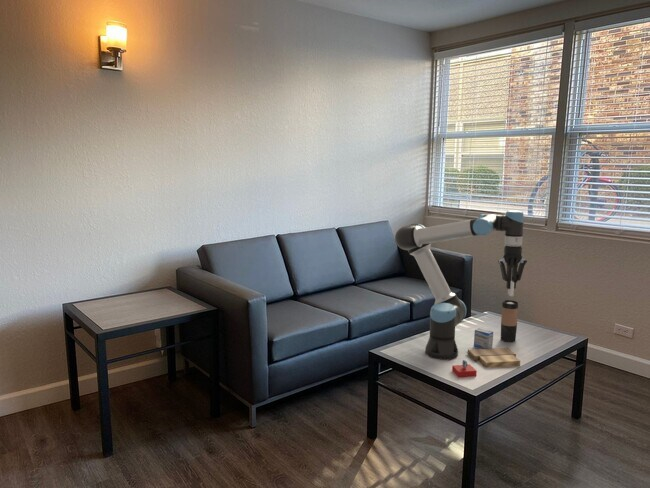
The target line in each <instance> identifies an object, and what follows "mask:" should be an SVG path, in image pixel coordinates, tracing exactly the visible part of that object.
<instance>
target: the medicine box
mask: <svg viewBox="0 0 650 488" xmlns="http://www.w3.org/2000/svg"><path fill="white" fill-rule="evenodd" d="M473 334H474V335H473V336H474V339H473V347H474V348H476V349H489V348H493V345H494V343H493V342H494V331H491V330H487V329H482V328H476V329H475V330H474V333H473Z"/></svg>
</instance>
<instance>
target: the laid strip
mask: <svg viewBox="0 0 650 488" xmlns="http://www.w3.org/2000/svg"><path fill="white" fill-rule="evenodd" d="M467 355H468V356H469V357H470V359H472V361H474V362H480V361H479V359H480V356H496V355H514V356H515V357H516V358H517V353H516V352H514V351H513V350H512V349H511V348H510V347H494V348H493V347H492V348H489V349H481V348H476V349H475V348H473V349H471V348H470V349H467Z"/></svg>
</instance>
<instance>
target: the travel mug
mask: <svg viewBox="0 0 650 488" xmlns="http://www.w3.org/2000/svg"><path fill="white" fill-rule="evenodd" d="M501 304H502V306H501V318H500V340H501V341H502V342H504V343H515V342H516V341H517V340H516V337H517V329H518V327H517V326H518V315H519V314H518V313H519V312H518V311H519V303H518V302H517V301H516V300H509V299H507V300H504V301H502V303H501Z"/></svg>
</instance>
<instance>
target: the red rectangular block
mask: <svg viewBox="0 0 650 488" xmlns="http://www.w3.org/2000/svg"><path fill="white" fill-rule="evenodd" d="M451 371H452V373H454V375H455V376H457V378H468V377H469V378H471V377H477V370H476V368H474V367H473V366H472V365H471V364H470V363H469V364H468V361H467V360H465V359H463V360H462V363H461V364H455V365H452V367H451Z"/></svg>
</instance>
